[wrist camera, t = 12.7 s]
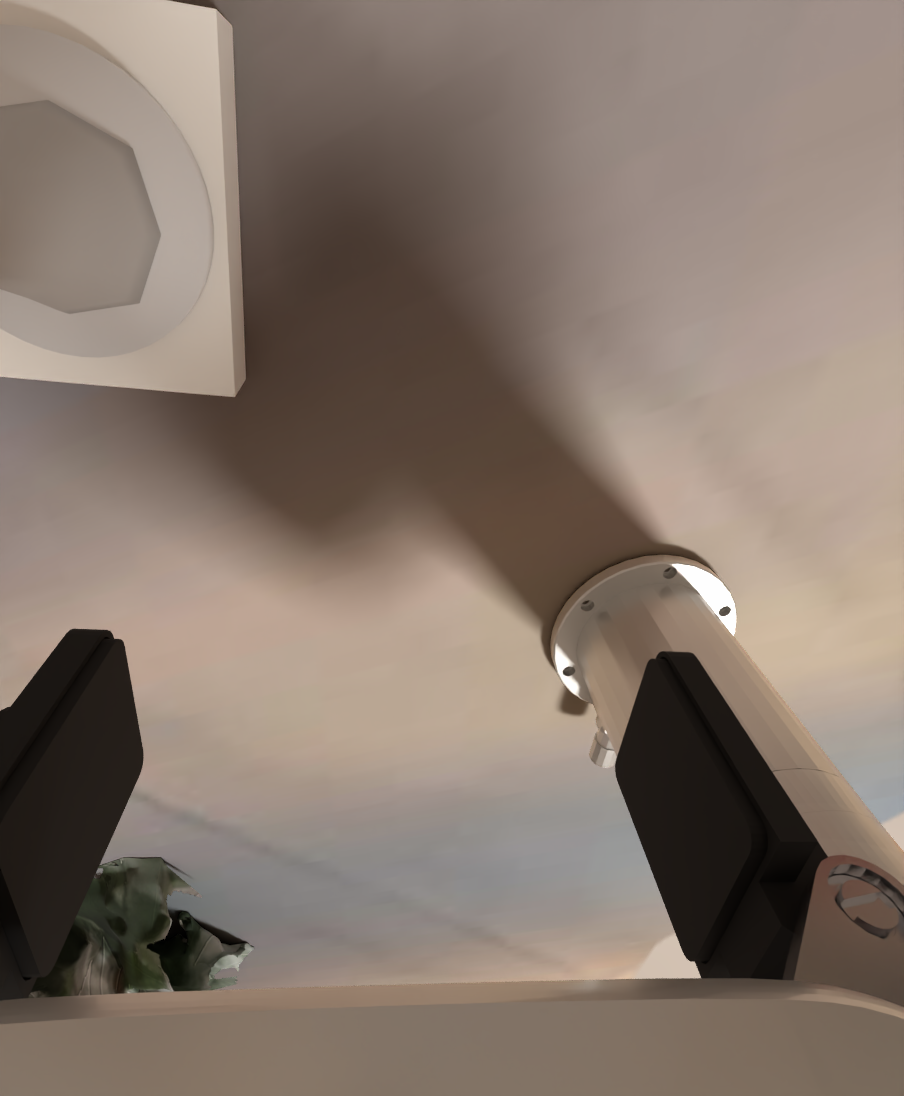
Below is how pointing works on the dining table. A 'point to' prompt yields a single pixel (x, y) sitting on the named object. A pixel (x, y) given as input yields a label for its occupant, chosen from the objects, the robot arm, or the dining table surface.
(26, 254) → the flask
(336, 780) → the dining table surface
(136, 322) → the kitchen scale
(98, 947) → the rose bouquet
